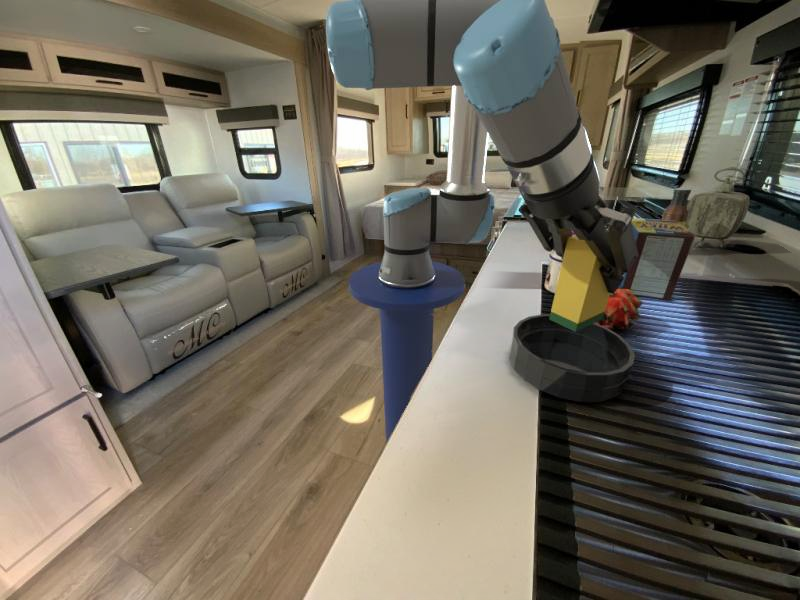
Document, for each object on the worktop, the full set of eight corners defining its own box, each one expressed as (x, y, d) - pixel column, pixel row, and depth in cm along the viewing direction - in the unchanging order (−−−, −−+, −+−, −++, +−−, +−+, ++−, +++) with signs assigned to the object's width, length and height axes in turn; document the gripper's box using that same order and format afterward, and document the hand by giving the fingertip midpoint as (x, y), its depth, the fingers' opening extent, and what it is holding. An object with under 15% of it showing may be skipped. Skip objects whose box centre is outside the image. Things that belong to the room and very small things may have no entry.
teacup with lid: (548, 279, 89) (556, 237, 84) (585, 286, 84) (597, 242, 79) (535, 295, 80) (544, 249, 75) (576, 304, 75) (589, 256, 70)
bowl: (528, 330, 66) (532, 305, 63) (629, 361, 56) (639, 333, 54) (493, 375, 54) (497, 346, 51) (615, 424, 44) (627, 392, 42)
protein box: (656, 277, 89) (676, 220, 82) (671, 301, 76) (696, 235, 69) (611, 272, 93) (627, 216, 86) (618, 293, 80) (638, 230, 73)
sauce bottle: (678, 252, 107) (702, 189, 99) (671, 256, 104) (695, 191, 95) (654, 248, 112) (675, 186, 103) (647, 251, 109) (668, 188, 100)
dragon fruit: (621, 321, 71) (599, 350, 65) (592, 292, 73) (567, 317, 67) (658, 302, 64) (638, 332, 58) (624, 270, 66) (601, 296, 60)
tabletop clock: (731, 248, 111) (766, 168, 100) (725, 254, 106) (762, 170, 94) (678, 239, 121) (705, 166, 110) (671, 244, 116) (698, 167, 104)
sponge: (548, 319, 51) (567, 237, 45) (575, 308, 54) (596, 230, 48) (575, 332, 48) (599, 245, 42) (602, 319, 51) (628, 236, 45)
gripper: (473, 189, 41) (535, 281, 57) (618, 211, 28) (648, 324, 43) (507, 142, 42) (560, 246, 57) (667, 141, 28) (680, 278, 44)
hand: (598, 280), depth 50 cm, fingers closed on sponge, 4 cm apart
